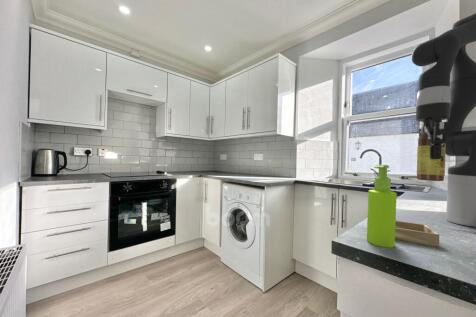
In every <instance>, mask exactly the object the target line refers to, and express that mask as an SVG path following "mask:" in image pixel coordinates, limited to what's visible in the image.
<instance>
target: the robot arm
mask: <svg viewBox="0 0 476 317" xmlns="http://www.w3.org/2000/svg"><path fill="white" fill-rule="evenodd" d="M474 42H476V12H475V13H473V14H471V15H470V14H469V16H466V17H464V18H462V19H458V21H456V22H454V23H453V24H452V25H451V28H450V29H449V30H447V31H445V32H443V33H441V34H440V35H438V36H436V37H433V38H431V39H429V40H426V41H425V42H422V43H420V44H418V45H417V46H415V47H414V49H413V51H412V53H411V58H410V59H411V62H412V64H414V65H415V66H417V67H426V66H430V65H432V64H433V66H431V67H430V68H428V69H427V70H425V71H422V72H421V73H420V74H419V75H418V79H417V80H418V81H417V94H416V101H415V102H416V107H415V108H416V109H415V120H416V122H420V123H421V122H422V123H423V124H422V127H421V128H418V137H419V136H420V135H421V134H422V133H423V128H424V130H425V132H426V134H427V139H428V140H430V146H431V147H430V158H431V159H441V146H443V143H446V151H445V152H446V154H445V156H448V157H468V159H467V160H466V161H465V162H462V163H459V164H456V165H450V166H449V167H448V168H447V188H446V189H447V190H446V192H447V194H446V214H445V215H446V216H445V220H446V221H447V222H450V223H454V224H457V225H463V226H469V227H475V228H476V129H472V130H463V125H464V124H465V121H466V118H467V117H468V116H469V115H470V114H471V112H472V111H473V110H474V109H475V108H476V61H474V59H472V58H471V57H470V56H469V55H468V52H467V48H466V47H467V45H469V44H472V43H474ZM423 120H428V121H429V125H428V126H425V127H424V122H423ZM445 120H446V121H445ZM431 134H433V136H432V135H431ZM439 134H440V135H439Z"/></svg>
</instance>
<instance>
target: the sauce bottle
mask: <svg viewBox="0 0 476 317" xmlns="http://www.w3.org/2000/svg"><path fill="white" fill-rule="evenodd" d="M422 123H423V124H424V127H425V126H428V125H429V121H428V120H423V122H422ZM431 135H432V136H433V134H431ZM439 135H440V134H439ZM430 147H431V146H430V140H428V139H427V134H426V132H425V130H424V128H423V133H422V134H421V135H420V136H419V135H418V139H417V147H416V149H417V150H416V151H417V154H416V175H417V176H416V179H417V180H419V181H429V182H430V181H432V182H443V181H444V180H445V174H446V152H445V151H446V143H443V146H441V159H431V158H430Z"/></svg>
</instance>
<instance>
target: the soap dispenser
mask: <svg viewBox="0 0 476 317" xmlns="http://www.w3.org/2000/svg"><path fill="white" fill-rule="evenodd" d="M373 167H374V169H378V176H376V177H374V189H369V190H368V193H367V194H368V198H367V199H368V200H367V220H366V221H367V222H366V224H367V225H366V241H367V242H368V243H370V244H371V245H375V246H377V247H381V248H394V247H395V245H396V244H395V242H396V239H395V224H396V221H397V220H396V219H397V218H396V216H397V195H398V194H397V193H396V192H394V191H391V186H392V184H391V182H392V179H391V178H390V177H388V169H389V168H390V166H389V164H376V165H374V166H373Z"/></svg>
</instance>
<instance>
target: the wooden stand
mask: <svg viewBox="0 0 476 317" xmlns="http://www.w3.org/2000/svg"><path fill="white" fill-rule="evenodd" d="M395 240H398V241H404V242H409V243H414V244H415V243H416V244H420V245H427V246H433V247H438V248H439V247H440V234H439V233H438V232H436V231H435V230H434V229H432V228H431V227H429V226H428V225H426V224H422V223H416V222H410V221H401V220H396V224H395Z"/></svg>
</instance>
